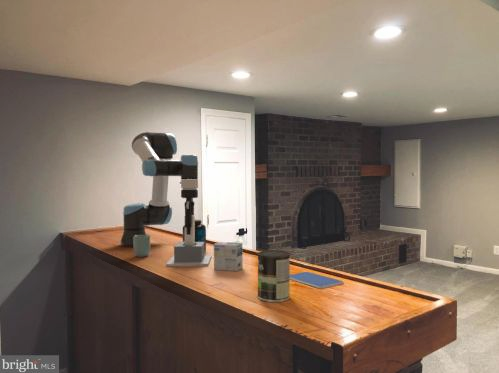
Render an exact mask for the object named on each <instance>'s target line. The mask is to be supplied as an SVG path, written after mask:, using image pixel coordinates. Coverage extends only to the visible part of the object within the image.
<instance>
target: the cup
mask: <svg viewBox="0 0 499 373" xmlns="http://www.w3.org/2000/svg"><path fill="white" fill-rule="evenodd" d="M133 244H134V247H133V252H134V255H135V256H136V257H138V258H145V257H147V256H149V255H150V252H151V235H150V234H146V235H135V236H134V238H133Z"/></svg>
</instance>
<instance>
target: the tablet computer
mask: <svg viewBox="0 0 499 373" xmlns="http://www.w3.org/2000/svg"><path fill="white" fill-rule="evenodd" d="M290 280H291V281H292V282H293V281H294V282H297V283H299V284H300V283H301V284H303V285H307V286H310V287H313V288H316V289H319V290H323V289H327V288H331V287H335V286H339V285H344V281H343V280H339V279H336V278H331V277H329V276H324V275H321V274H316V273H313V272H310V271H303V272H298V273H294V274H293V273H292V274H290Z"/></svg>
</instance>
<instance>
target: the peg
mask: <svg viewBox="0 0 499 373" xmlns="http://www.w3.org/2000/svg"><path fill="white" fill-rule="evenodd" d="M195 220H196V219H195V214H194V215H192V242H186V227H185V245H195Z"/></svg>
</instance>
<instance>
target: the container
mask: <svg viewBox="0 0 499 373" xmlns="http://www.w3.org/2000/svg"><path fill="white" fill-rule="evenodd" d="M184 226H185V224H183V226H182V242H185V227H184ZM195 242H204V253H205V252H206V251H207V227H206V225H205V224H203V223H202V220H201V219H195Z"/></svg>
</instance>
